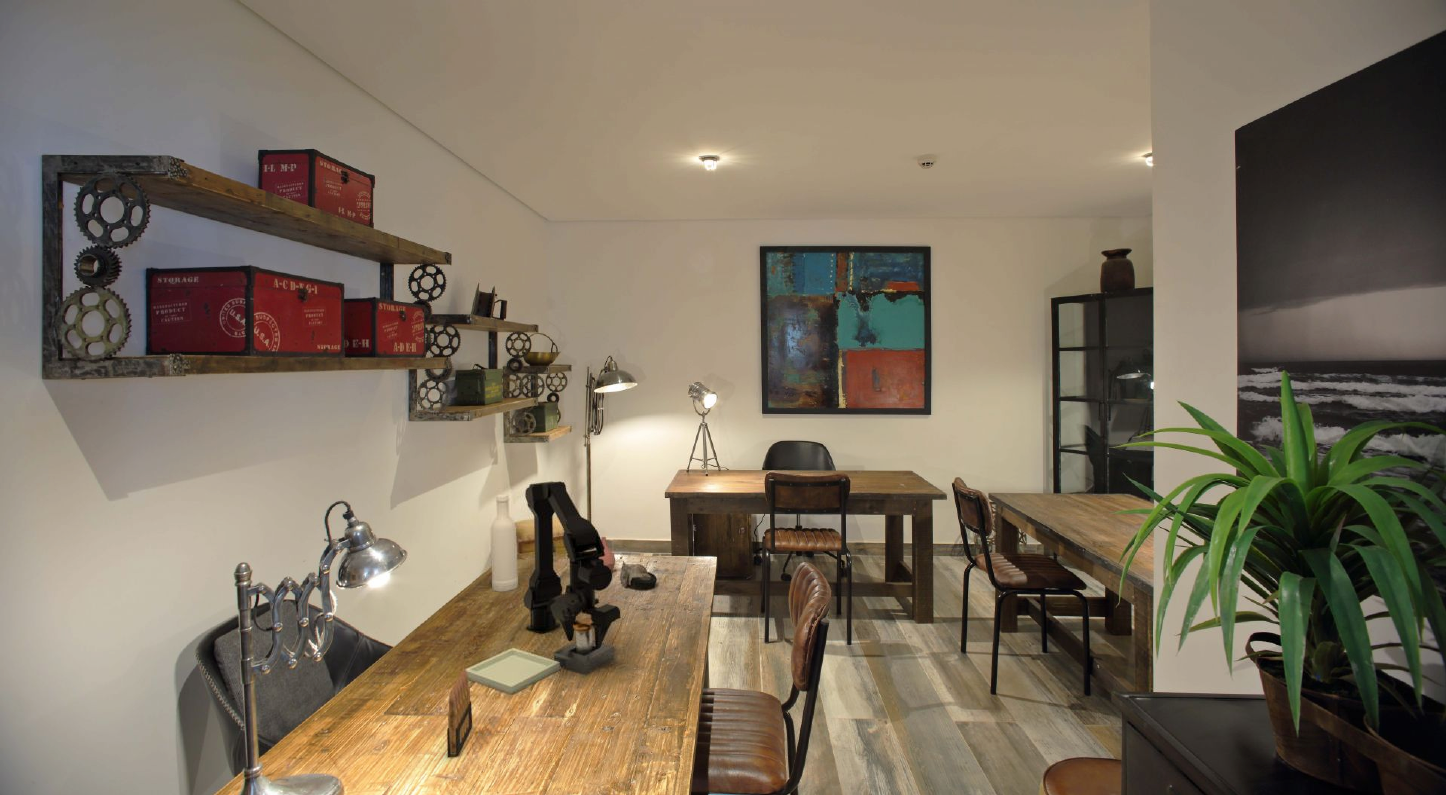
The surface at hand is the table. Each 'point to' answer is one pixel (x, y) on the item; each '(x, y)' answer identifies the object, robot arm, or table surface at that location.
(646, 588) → the caster wheel
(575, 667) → the block
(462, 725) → the ammunition clip
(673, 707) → the table surface
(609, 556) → the pink vase
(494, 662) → the tray
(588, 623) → the light grey cylindrical piece
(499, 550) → the bottle
